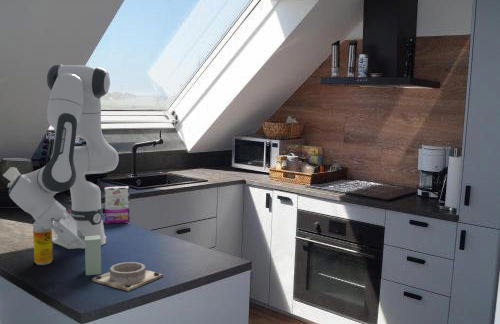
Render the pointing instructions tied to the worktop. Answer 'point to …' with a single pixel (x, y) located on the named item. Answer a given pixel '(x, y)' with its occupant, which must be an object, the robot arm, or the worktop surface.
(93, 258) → the green peg
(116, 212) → the candy bar box
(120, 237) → the worktop surface
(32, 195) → the robot arm
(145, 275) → the bolt socket plate
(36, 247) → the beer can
